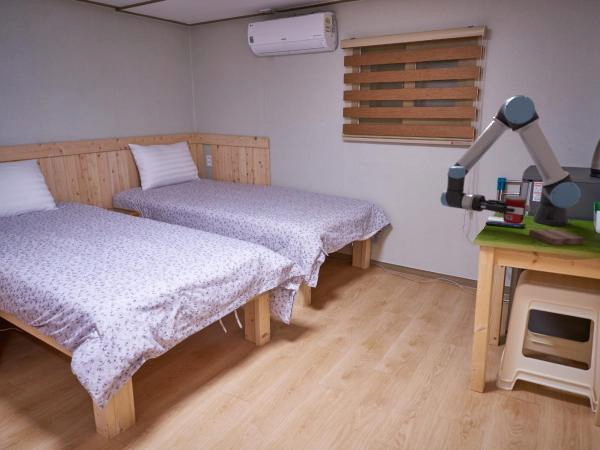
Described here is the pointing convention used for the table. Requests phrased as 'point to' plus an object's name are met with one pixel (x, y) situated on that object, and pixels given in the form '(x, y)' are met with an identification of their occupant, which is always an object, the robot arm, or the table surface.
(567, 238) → the walnut base
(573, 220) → the table surface
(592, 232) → the table surface
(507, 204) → the canned food
